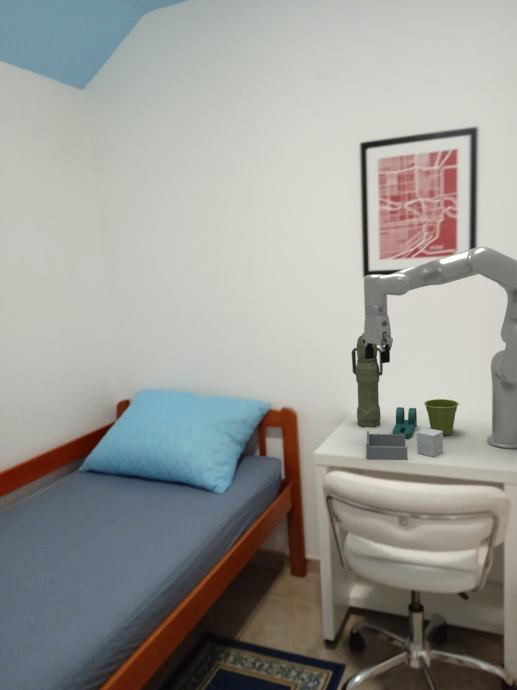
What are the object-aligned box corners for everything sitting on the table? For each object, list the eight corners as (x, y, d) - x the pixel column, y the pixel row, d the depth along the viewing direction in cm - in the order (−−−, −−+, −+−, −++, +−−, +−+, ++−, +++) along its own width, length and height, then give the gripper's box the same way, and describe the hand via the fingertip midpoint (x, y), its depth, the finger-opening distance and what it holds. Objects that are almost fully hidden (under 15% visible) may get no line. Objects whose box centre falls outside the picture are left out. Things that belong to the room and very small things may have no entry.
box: (405, 445, 186) (405, 431, 185) (407, 459, 172) (407, 444, 172) (367, 445, 188) (366, 431, 188) (366, 458, 175) (366, 444, 174)
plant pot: (425, 427, 204) (424, 398, 202) (458, 429, 200) (458, 399, 198) (423, 437, 193) (423, 406, 191) (459, 439, 189) (459, 407, 187)
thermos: (356, 420, 218) (354, 334, 213) (386, 422, 213) (384, 334, 208) (351, 426, 210) (348, 337, 205) (381, 429, 205) (379, 337, 200)
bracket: (398, 425, 210) (398, 405, 209) (416, 426, 207) (416, 406, 206) (391, 439, 193) (390, 418, 192) (410, 440, 191) (410, 419, 190)
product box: (433, 457, 173) (433, 435, 172) (416, 453, 178) (416, 431, 177) (443, 452, 177) (443, 431, 176) (426, 448, 182) (426, 427, 181)
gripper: (400, 311, 177) (401, 363, 179) (371, 308, 193) (372, 356, 195) (380, 313, 174) (382, 365, 177) (353, 310, 190) (354, 358, 193)
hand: (377, 360), depth 186 cm, fingers open, 9 cm apart
